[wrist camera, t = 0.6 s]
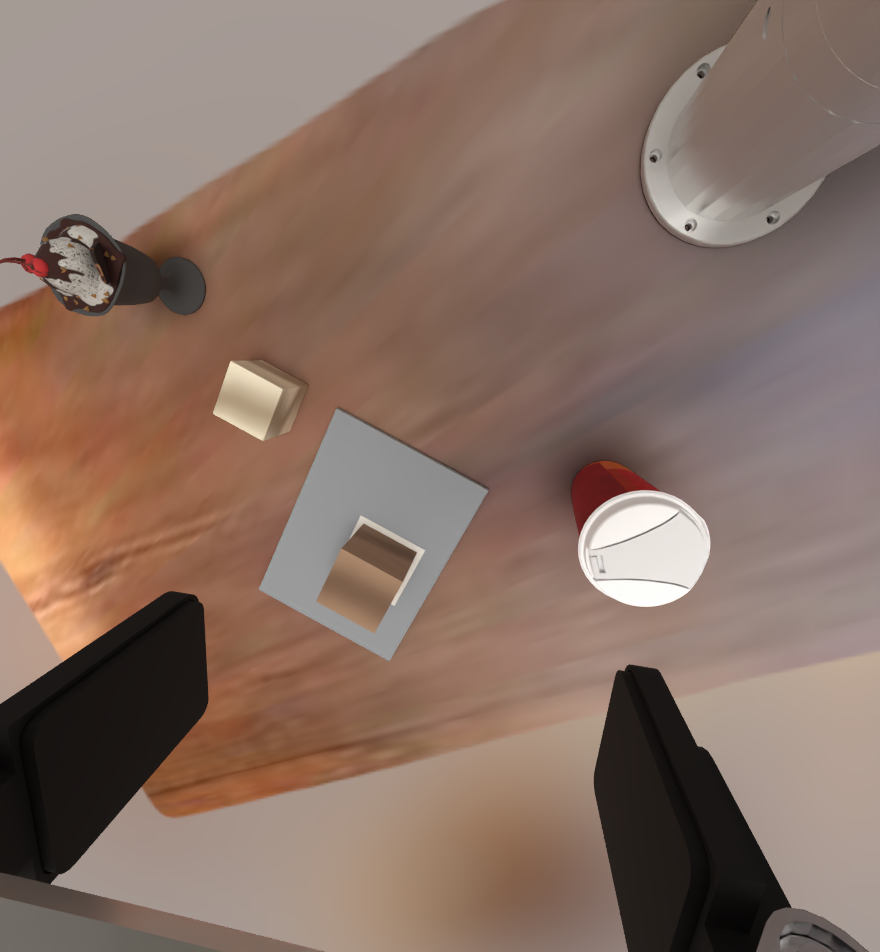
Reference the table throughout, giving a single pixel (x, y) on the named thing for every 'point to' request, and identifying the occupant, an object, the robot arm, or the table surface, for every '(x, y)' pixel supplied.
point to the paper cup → (636, 536)
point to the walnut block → (366, 577)
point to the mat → (370, 524)
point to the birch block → (259, 398)
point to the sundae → (108, 271)
